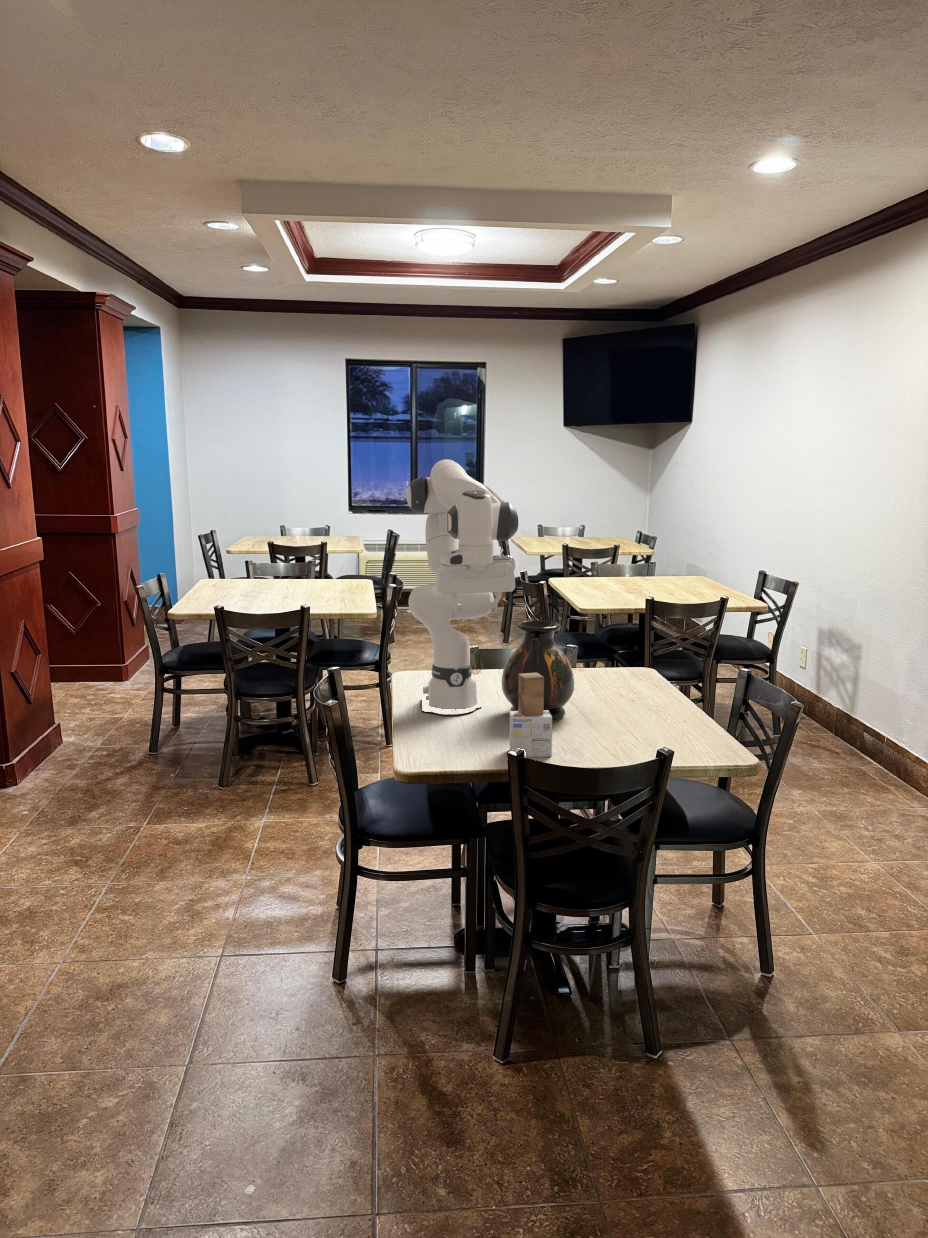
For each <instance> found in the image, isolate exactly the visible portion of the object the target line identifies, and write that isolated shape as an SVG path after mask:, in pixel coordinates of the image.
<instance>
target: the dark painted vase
mask: <svg viewBox="0 0 928 1238" xmlns="http://www.w3.org/2000/svg"><path fill="white" fill-rule="evenodd" d="M516 628H517V630H519V631H521V632H522V635H523V640H522V642H521V643H520V644H519V646H517V648H516V649H515V650H514V651H513V652H512V653H510V655H509V657H508V658H507V660H506V662H505V665H504V667H503V671H502V676H501V690H502V693H503V696H504V697H505V698H506V700H507V701H508V703H509V704H511V707H510V708H509V712H510V711H518V687H519V674H524V673H538V674H540V675H542V676H543V677H544V710H549V713H550V714H551V716H552V722H556V721H558V720H560V719H563V717H564V716H565V715H566V710H565V708H564V706H565V705H566V704H567V703H568V702H569V701H570V699H571V697H572V696H573V694H574V690H575V678H574V677H575V676H574V673H573V668H572V665H571V663H570V660H569V659H568V658H567V656H566V655H565V654H564V652H563V651H562V650H561V649H560V648H559V647H558V645H557V644H556V642H555V641H554V636H555V635H554V634H555V632H557V631H559V630H560V629H561V624H559V623H558V622H555V621H549V620H541V619H540V620H525V621H524V620H523V621H520V622H518V623H517V624H516Z"/></svg>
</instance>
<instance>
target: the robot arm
mask: <svg viewBox="0 0 928 1238" xmlns="http://www.w3.org/2000/svg"><path fill="white" fill-rule="evenodd" d="M405 496H406V497H405V498H406V502H407V504H408V505H407V506H408V507H409V510H411V512H413V513H415V514H416V513H417V514H424V513H425V514H428V515H427V517H426V520H425V533H424V534H425V535H424V537H425V546H426V556H427V562H428V567H429V569H430V571H432V573H434V575H436V579H435V583H428V584H424V585H419V586H416V587H413V589H412V590H411V592H410V594H409V597H408V603H407V604H408V607H409V611H410V613H411V614H412V616H413V617H414V618H415V619H417V620H418V621H419V622H421V624H423V625H424V627H425V628H426V629H427V631H428V633H429V635H430V637H431V642H432V652H433V653H432V656H433V664H432V666H431V678H430V679H429V681H428V682H427V686H422V693H423V695H425V696H426V695H428V696H426V700H429V706H431V707H435V708H441V709H455V710H456V709H466V708H471V707H473V706H475V705H476V704H477V702H478V696H477V694H478V693H477V683H476V680H474V679H473V678H472V671H473V668H472V664H471V643H470V642H471V641H470V638H469V637H468V636H467V635H466V634H465V633H464V632H461V631H459V630H457V629H454V628H452V626H451V621H453V620H454V621H455V620H474V619H477V618H481V617H486V616H488V615H490V612H491V611H497V610H498V604H499V602H500V600H501V598H502V597H503V596H502V595H503V594H502V593H511V592H513V591H514V590H515V588H516V577H515V572H514V571H515V569H516V560H515V559H514V558H513V557H512V556H510V555H508V554H507V555H494V541H503V542H508V541H509V540H511V538H512V537H514V536H515V534H516V533H517V531H518V530H519V529H518V528H519V515H518V511H517V510H516V508H515V507H514V506H513V505H512V504H511V503H510V502H509V501H504V500H503V499H502V498H501V497H500V496H499V495H498V494H497V493H496V492H494V490H492V489H491V488H490V487H489V486H487V485H485V484H484V483H481V481H480V482H479V481H477V480H476V479H474V478H473V477H471V476H470V475H468V474H467V472H466V470H465V469H464V468H463V467H462V466H461V465H460V464H459V463H458V462H457V461H456V462H455V461H454V460H452V459H441V460H438V461H437V462H436V463H435V464H434V465H433V466H432V468H431V471H430V476H429V477H424V476H423V475H421V476H420V477H419V478H416V479H412V481H410V482H409V483H408V487H407V489H406V495H405ZM494 596H495V598H494Z"/></svg>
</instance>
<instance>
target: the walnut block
mask: <svg viewBox="0 0 928 1238" xmlns="http://www.w3.org/2000/svg"><path fill="white" fill-rule="evenodd" d="M518 712H520V713H521V714H522V715H524V716H525V717H528V716H539V715H543V714H544V677H543V676H542V675H540V674H538V673H524V674H519V687H518Z"/></svg>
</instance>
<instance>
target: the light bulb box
mask: <svg viewBox="0 0 928 1238" xmlns="http://www.w3.org/2000/svg"><path fill="white" fill-rule="evenodd" d="M516 748H520V749H524V750H525V752H526V756H527V757H526V758H537V757H538V758H542V757H543V758H544V757H545V758H547V757H549V758H550V757H552V756H553V752H552V751H553V721H552V716H551V714H550V713H549V710H544V714H543V715H539V716H528V717H525V716H524V715H522V714H521V713H520V712H518V711H510V710H509V751H510V750H512V749H516Z"/></svg>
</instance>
